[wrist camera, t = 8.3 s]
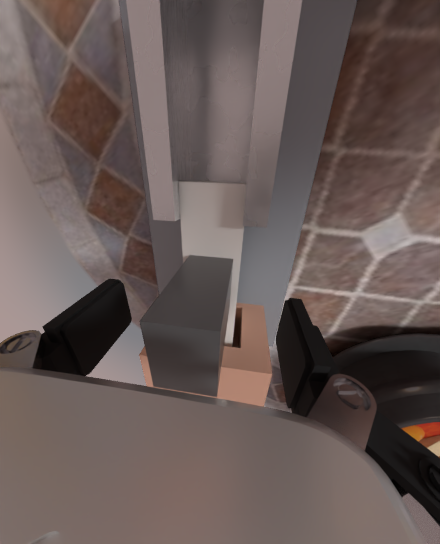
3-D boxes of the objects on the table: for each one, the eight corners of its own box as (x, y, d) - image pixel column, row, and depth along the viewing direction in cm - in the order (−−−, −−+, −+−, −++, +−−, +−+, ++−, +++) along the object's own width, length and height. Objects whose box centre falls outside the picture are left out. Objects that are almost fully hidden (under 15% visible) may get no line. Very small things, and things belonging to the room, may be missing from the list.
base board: (129, 10, 12) (117, -6, 11) (351, -1, 11) (362, -20, 10) (167, 325, 25) (164, 332, 24) (271, 338, 24) (272, 346, 23)
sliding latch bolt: (195, 180, 14) (91, 184, 5) (248, 183, 14) (251, 193, 4) (198, 333, 21) (159, 454, 12) (233, 337, 21) (221, 466, 12)
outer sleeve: (178, -10, 11) (97, -226, 5) (289, -16, 10) (344, -273, 4) (186, 204, 16) (153, 219, 11) (259, 209, 16) (266, 227, 10)
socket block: (175, 295, 21) (139, 354, 14) (263, 305, 20) (272, 374, 13) (178, 333, 24) (149, 399, 17) (256, 344, 23) (260, 418, 16)
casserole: (516, 284, 17) (726, 367, 10) (511, 399, 23) (636, 503, 16) (263, 353, 25) (270, 425, 18) (309, 424, 31) (329, 500, 24)
